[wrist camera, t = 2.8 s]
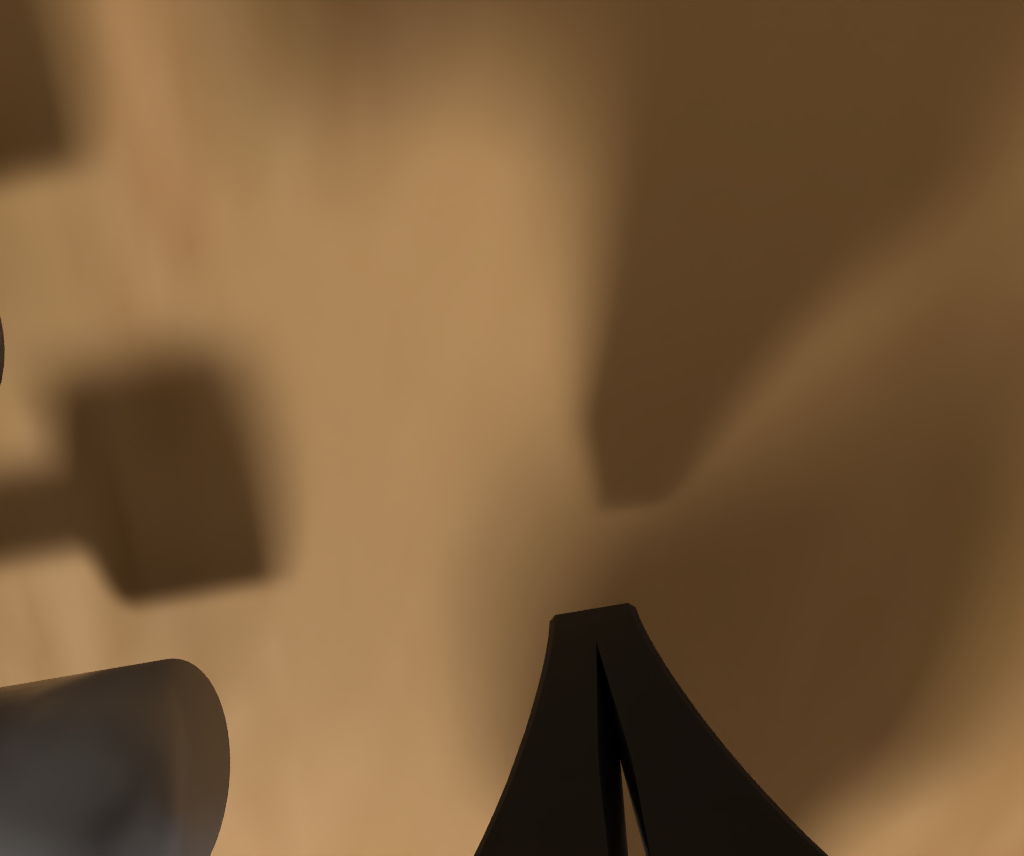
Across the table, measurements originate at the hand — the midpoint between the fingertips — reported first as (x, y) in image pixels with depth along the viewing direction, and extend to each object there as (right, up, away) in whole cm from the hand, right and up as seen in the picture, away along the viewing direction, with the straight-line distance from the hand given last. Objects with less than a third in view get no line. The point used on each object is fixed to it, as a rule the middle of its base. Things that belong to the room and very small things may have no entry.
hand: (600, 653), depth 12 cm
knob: (-11, -2, +2) cm, 12 cm away
